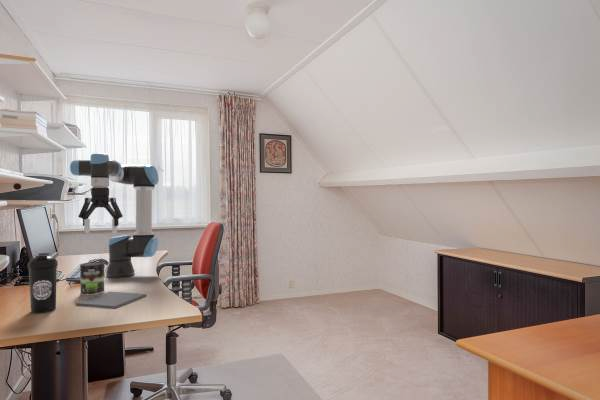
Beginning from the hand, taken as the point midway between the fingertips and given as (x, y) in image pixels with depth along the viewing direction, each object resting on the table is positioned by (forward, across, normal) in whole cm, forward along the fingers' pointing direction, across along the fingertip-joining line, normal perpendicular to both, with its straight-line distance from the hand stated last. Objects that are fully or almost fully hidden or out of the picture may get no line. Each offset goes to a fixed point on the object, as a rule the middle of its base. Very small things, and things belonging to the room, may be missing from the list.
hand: (100, 233), depth 179 cm
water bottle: (+29, -10, -23) cm, 39 cm away
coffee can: (+29, -8, +5) cm, 31 cm away
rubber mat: (+29, +9, -6) cm, 31 cm away
